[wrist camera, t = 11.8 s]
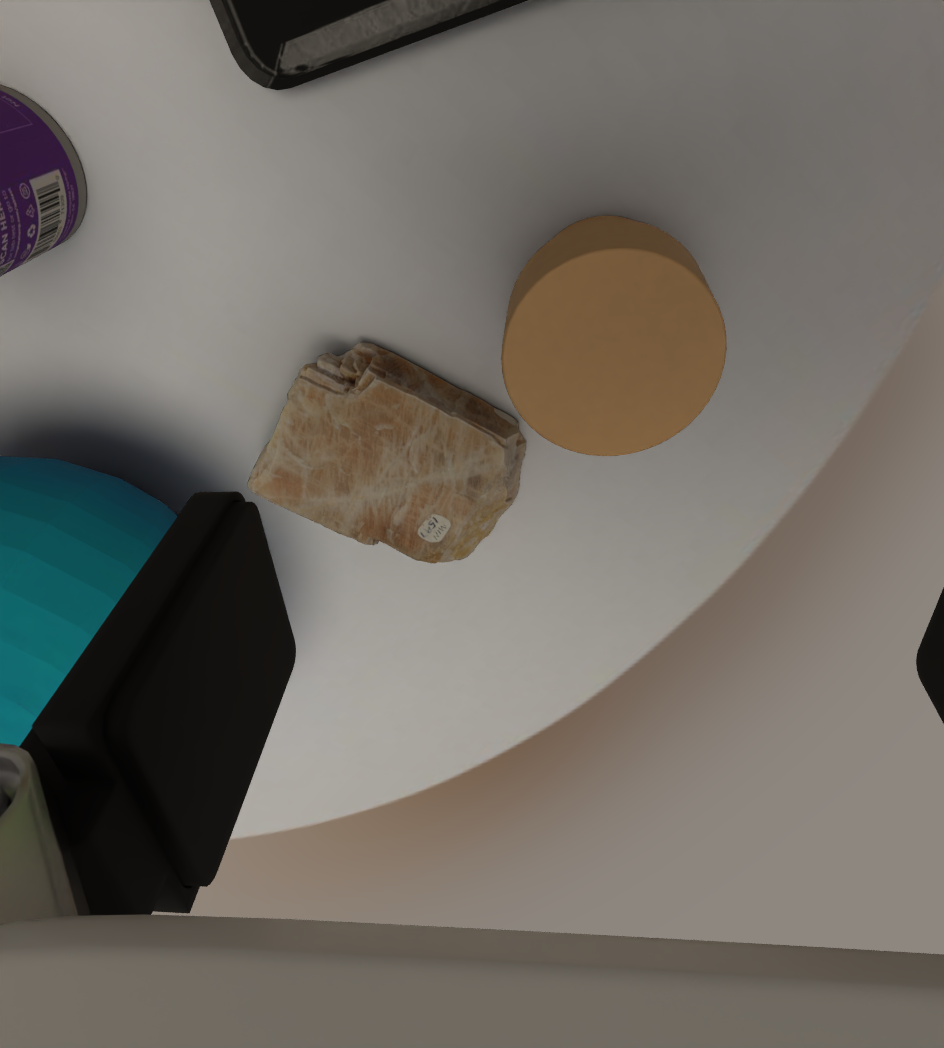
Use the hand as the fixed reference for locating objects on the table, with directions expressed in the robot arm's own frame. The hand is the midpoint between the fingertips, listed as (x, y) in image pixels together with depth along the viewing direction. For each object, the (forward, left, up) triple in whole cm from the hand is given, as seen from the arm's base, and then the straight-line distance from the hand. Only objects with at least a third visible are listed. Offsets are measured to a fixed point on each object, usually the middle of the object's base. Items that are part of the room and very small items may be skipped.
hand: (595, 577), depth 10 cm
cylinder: (0, +1, -15) cm, 15 cm away
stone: (+9, +3, -16) cm, 18 cm away
